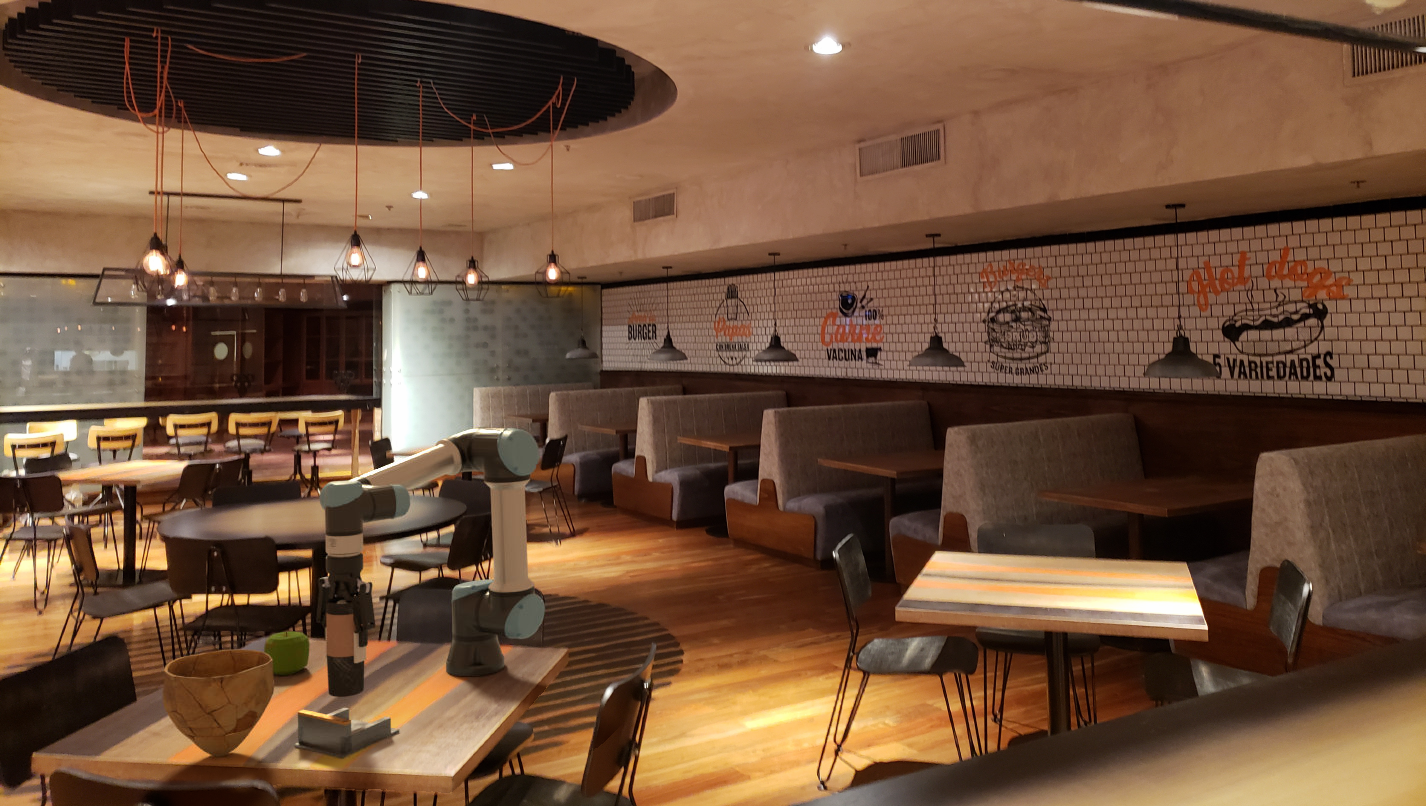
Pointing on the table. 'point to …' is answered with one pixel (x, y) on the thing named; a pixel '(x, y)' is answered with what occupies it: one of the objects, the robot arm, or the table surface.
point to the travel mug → (342, 651)
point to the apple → (287, 652)
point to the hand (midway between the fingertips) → (346, 658)
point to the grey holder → (339, 732)
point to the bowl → (218, 696)
